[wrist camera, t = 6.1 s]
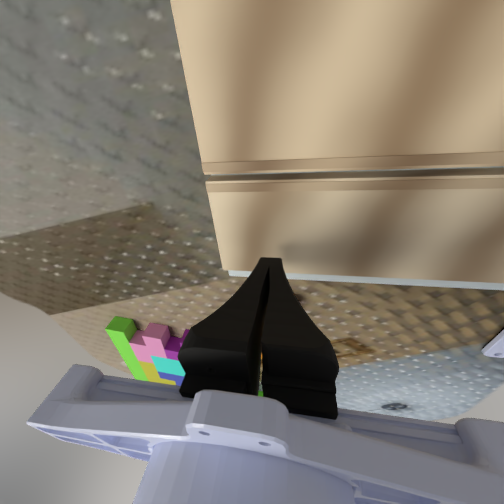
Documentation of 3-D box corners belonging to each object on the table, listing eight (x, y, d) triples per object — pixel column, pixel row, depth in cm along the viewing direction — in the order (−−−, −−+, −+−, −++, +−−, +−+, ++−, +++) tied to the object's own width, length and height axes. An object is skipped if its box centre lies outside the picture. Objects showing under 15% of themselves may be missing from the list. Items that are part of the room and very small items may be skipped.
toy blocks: (278, 396, 34) (319, 293, 19) (277, 413, 32) (322, 314, 17) (146, 370, 36) (89, 256, 21) (138, 384, 34) (70, 271, 19)
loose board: (653, 163, 10) (694, 170, 9) (542, 273, 14) (562, 286, 13) (211, 175, 13) (205, 181, 12) (226, 260, 18) (222, 270, 17)
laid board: (941, -127, 6) (1083, -176, 5) (661, 154, 10) (705, 160, 9) (181, 2, 9) (167, -10, 8) (210, 169, 13) (203, 174, 12)
